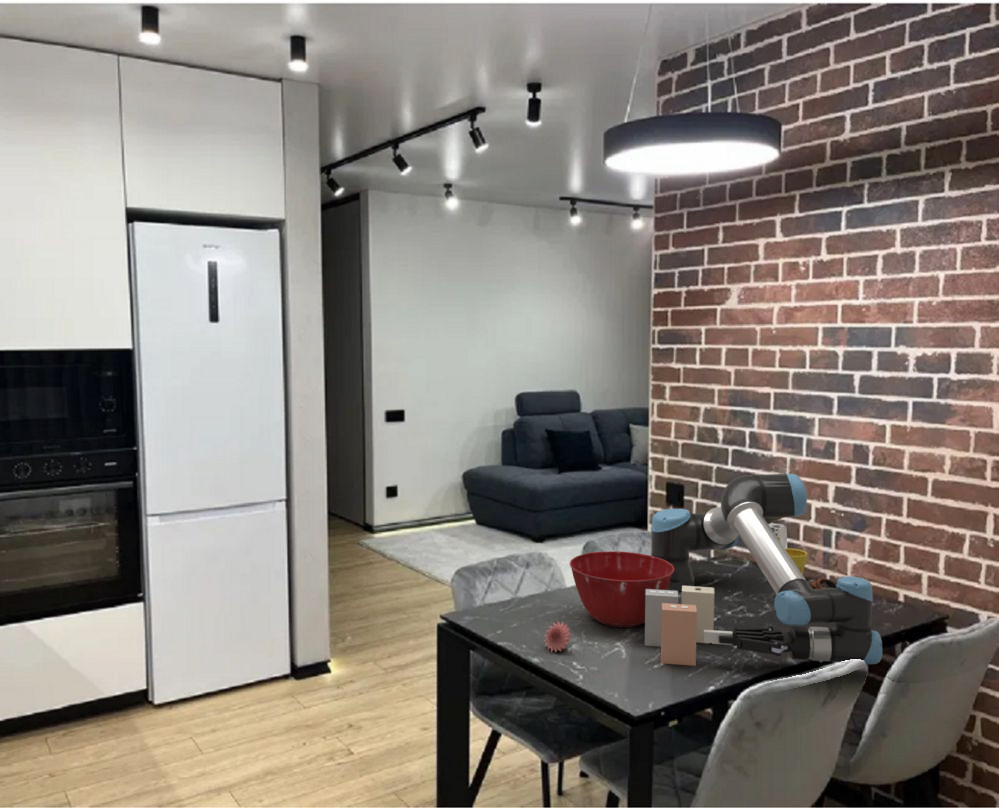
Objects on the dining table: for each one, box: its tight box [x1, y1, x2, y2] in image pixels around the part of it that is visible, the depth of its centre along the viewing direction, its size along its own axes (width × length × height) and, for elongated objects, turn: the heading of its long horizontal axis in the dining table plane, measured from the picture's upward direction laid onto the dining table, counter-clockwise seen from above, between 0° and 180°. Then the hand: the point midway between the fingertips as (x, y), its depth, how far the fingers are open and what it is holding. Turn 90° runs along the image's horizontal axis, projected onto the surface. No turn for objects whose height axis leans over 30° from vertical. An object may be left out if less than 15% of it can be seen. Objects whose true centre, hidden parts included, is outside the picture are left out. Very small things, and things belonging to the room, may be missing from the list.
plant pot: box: [785, 547, 808, 576], centre depth 257 cm, size 10×10×10 cm
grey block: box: [644, 589, 679, 648], centre depth 204 cm, size 8×5×13 cm, turn 79°
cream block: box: [681, 585, 715, 644], centre depth 207 cm, size 8×5×13 cm, turn 76°
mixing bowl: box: [569, 550, 674, 628], centre depth 222 cm, size 28×28×16 cm
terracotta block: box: [660, 603, 697, 667], centre depth 193 cm, size 8×5×13 cm, turn 79°
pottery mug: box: [808, 577, 837, 589], centre depth 236 cm, size 12×10×8 cm
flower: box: [543, 621, 572, 653], centre depth 200 cm, size 8×8×6 cm
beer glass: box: [768, 523, 788, 548], centre depth 271 cm, size 7×7×15 cm
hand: (704, 636), depth 192 cm, fingers closed
